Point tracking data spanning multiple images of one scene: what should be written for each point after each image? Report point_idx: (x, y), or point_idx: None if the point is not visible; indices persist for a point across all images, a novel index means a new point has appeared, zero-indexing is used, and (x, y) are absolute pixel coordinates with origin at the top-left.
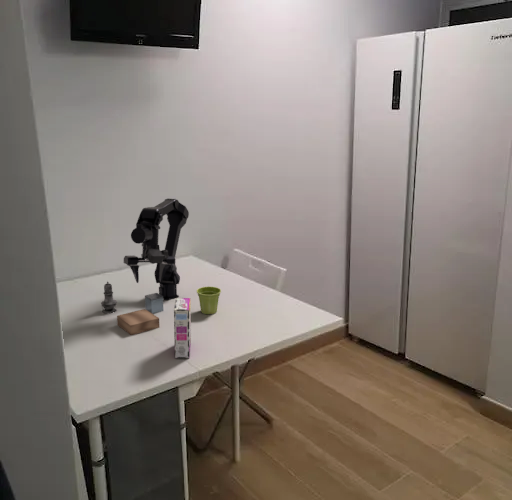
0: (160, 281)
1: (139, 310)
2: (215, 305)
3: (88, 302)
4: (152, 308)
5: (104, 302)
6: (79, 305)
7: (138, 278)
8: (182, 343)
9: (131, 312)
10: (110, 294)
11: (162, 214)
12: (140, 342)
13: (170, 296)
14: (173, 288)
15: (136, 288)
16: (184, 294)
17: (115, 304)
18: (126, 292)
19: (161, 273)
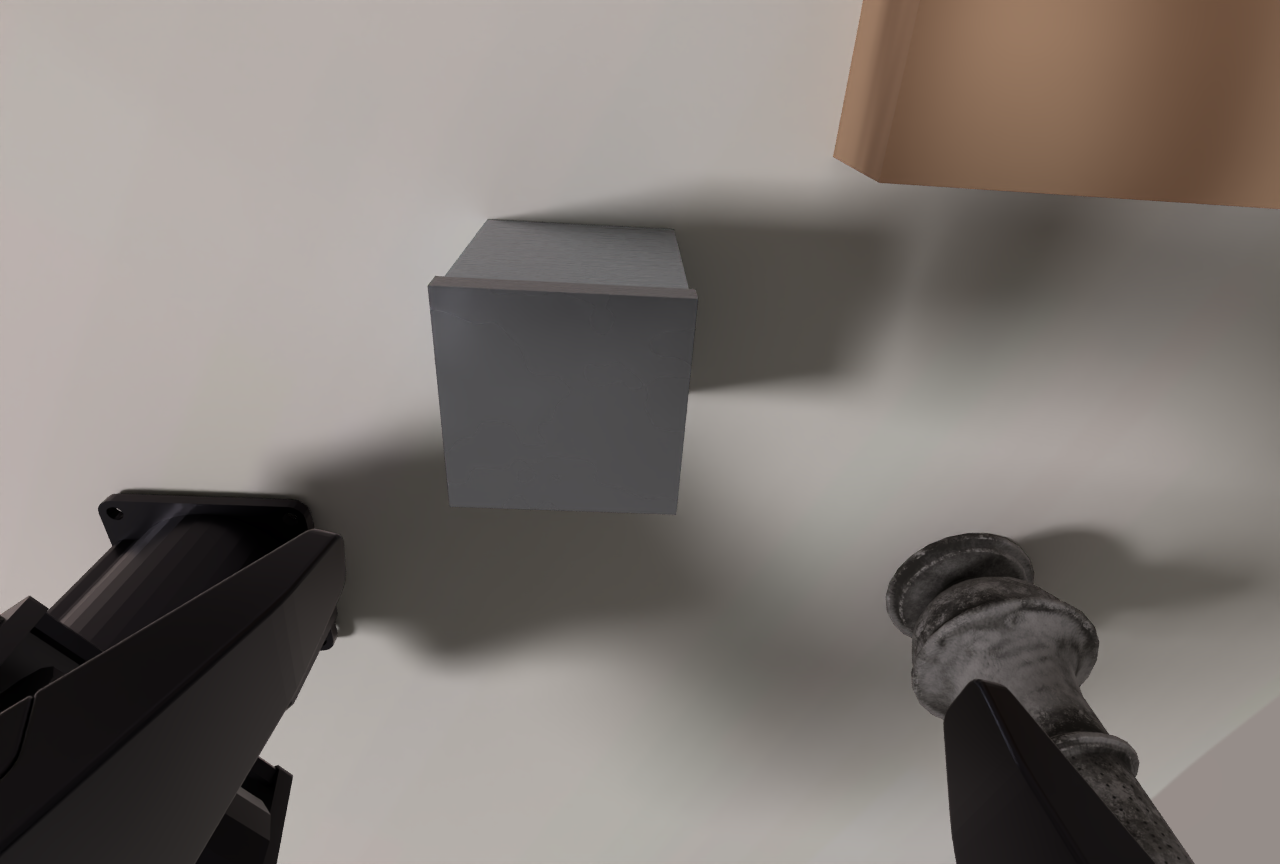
0: (338, 546)
1: (987, 175)
2: None
3: (932, 811)
4: (665, 250)
5: (1076, 672)
6: None
7: (1047, 790)
8: None
9: (1134, 182)
10: (1082, 733)
11: None
12: None
13: (216, 525)
14: (101, 594)
15: (441, 851)
16: (14, 524)
17: (960, 605)
18: (561, 827)
19: (159, 760)
